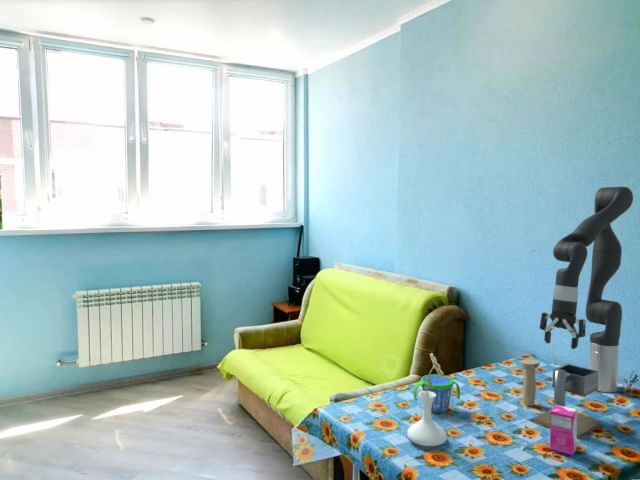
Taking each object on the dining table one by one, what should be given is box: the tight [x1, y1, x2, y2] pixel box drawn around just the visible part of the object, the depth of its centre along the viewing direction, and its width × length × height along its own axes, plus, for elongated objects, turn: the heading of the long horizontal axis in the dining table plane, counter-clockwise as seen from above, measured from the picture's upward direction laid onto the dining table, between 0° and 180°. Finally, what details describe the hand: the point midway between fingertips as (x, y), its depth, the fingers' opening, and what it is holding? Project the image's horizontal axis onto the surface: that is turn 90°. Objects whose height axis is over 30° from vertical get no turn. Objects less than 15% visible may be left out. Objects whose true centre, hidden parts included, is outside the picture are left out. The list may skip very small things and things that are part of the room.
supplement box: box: [549, 405, 578, 458], centre depth 131 cm, size 6×6×12 cm
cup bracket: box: [532, 363, 603, 440], centre depth 148 cm, size 17×14×18 cm
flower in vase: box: [406, 352, 448, 447], centre depth 137 cm, size 13×11×25 cm
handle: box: [519, 358, 541, 407], centre depth 162 cm, size 5×6×15 cm
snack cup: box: [412, 373, 461, 414], centre depth 159 cm, size 16×10×10 cm
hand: (560, 345), depth 164 cm, fingers open, 8 cm apart
